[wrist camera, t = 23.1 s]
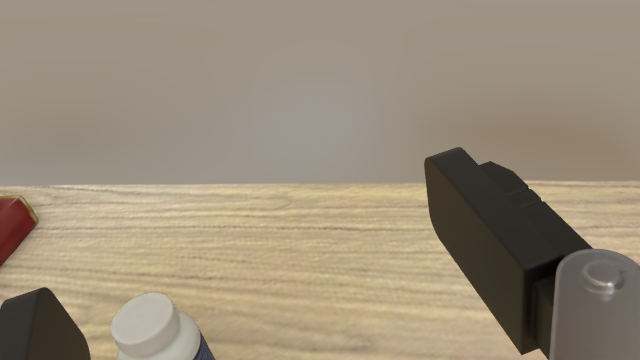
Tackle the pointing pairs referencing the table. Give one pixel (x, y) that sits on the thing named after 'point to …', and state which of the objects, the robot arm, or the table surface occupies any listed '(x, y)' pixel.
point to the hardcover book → (14, 223)
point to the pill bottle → (157, 331)
